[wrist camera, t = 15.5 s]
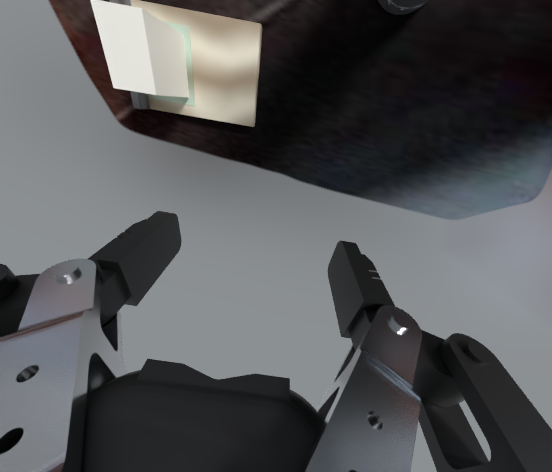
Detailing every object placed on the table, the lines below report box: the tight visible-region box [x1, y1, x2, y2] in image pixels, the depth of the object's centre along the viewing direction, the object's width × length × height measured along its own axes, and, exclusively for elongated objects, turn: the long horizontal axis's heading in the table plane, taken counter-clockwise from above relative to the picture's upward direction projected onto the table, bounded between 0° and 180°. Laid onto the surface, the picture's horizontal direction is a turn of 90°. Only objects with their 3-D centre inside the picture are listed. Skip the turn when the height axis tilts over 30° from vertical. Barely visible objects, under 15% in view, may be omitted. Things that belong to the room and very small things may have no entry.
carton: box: [91, 0, 189, 98], centre depth 25 cm, size 5×7×9 cm
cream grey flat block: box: [110, 0, 262, 127], centre depth 28 cm, size 12×18×4 cm, turn 82°
